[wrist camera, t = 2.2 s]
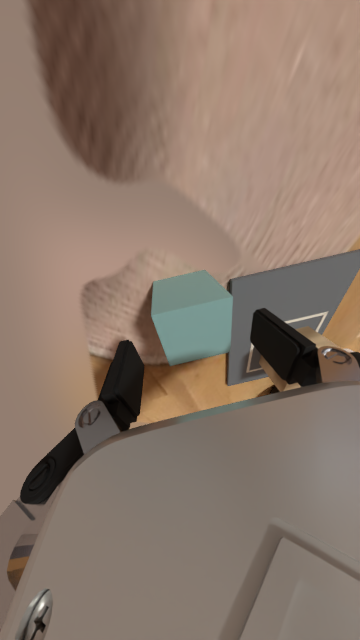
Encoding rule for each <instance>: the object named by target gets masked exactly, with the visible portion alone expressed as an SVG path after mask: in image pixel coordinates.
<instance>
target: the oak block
mask: <svg viewBox="0 0 360 640" xmlns="http://www.w3.org/2000/svg"><path fill="white" fill-rule="evenodd" d="M295 330H297V331H298V332H299V333H301V334H302V335H304V336H305V337H306V338H308V339H309V340H311V341H312V342H313V343H315V344H316V346H315V347H317V348H318V349H319V348H320V347H323V346H332V347H337V348H340V347H339V346H337V345H336V344H334V343H333V342H331V341H330V340H328V339H327V338H325V337H324V336H322V335H321V334H319V333H318V332H316V331H315V330H313V329H312V328H310V327H309V326H307V327H302V328H298V329H295ZM340 349H342V348H340ZM259 364H260V365H261V367H262V368H263V369H264V371H265V372H266V374H267V375H268V376H269V378H270V379H271V380H272V382H273V383H274V384H275V386H276V387H277V389H278V390H279V391H280V392H282V391H287V390H291V389H295V388H300V385H299V384H298V383H294V384H290V385H289V384H288V383H287V382H286V381H285V380H282V379H281V378H280V377H279V375H278V374H277V373H276V372H275V371H274V369H273V368H272V367H271V366H270V365H269V363H268V362H267V361H266V360H265V359H264V357H263V356H262V355H261V357H260V361H259Z"/></svg>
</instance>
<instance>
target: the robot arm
mask: <svg viewBox="0 0 360 640" xmlns="http://www.w3.org/2000/svg"><path fill="white" fill-rule="evenodd" d="M250 341H251V343H252V344H253V346H254V347H255V348H256V349H257V350H258V351H259V353H260V354H261V355H262V356H263V357H264V359H265V360H266V361H267V362H268V363H269V365H270V366H271V367H272V368H273V369H274V371H275V372H276V373H277V374H278V375H279V377H280V378H281V379H282V380H285V381H286V382H287V383H288V384H289V385H290V384H294V383H298V384H299V385H300V388H295V389H291V390H287V391H282V392H278V393H274V394H270V395H265V396H261V397H257V398H252V399H248V400H244V401H240V402H236V403H232V404H227V405H223V406H219V407H215V408H211V409H207V410H203V411H199V412H194V413H190V414H186V415H182V416H178V417H174V418H170V419H166V420H162V421H158V422H154V423H151V424H147V425H144V426H139V427H136V428H132V429H129V427H130V423H132V422H136V421H137V416H138V415H139V414H140V406H141V396H142V386H143V376H144V364H143V362H142V360H141V358H140V356H139V354H138V352H137V351H136V349H135V347H134V345H133V343H132V341H129V340H125V341H121V342H120V343H119V345H118V348H117V351H116V354H115V357H114V360H113V362H112V363H111V365H110V367H109V370H108V373H107V376H106V379H105V381H104V384H103V387H102V390H101V393H100V395H99V398H98V400H97V401H93V402H91V403H89V404H88V405H86V406H85V407H84V408H83V409H82V410H81V412H80V413H79V414H78V416H77V418H76V422H75V428H74V429H73V430H72V431H71V432H70V433H69V434H68V435H67V436H66V437H65V438H64V439H63V440H62V441H61V442H60V443H58V444H57V445H56V447H54V448H53V449H52V450H51V451H50V452H49V453H48V454H47V455H46V456H45V457H44V458H43V459H42V460H41V461H40V462H39V463H38V464H37V465H36V466H35V467H34V468H33V469H32V471H31V472H30V473H29V475H28V476H27V478H26V480H25V482H24V484H23V487H22V490H21V495H20V497H19V498H18V499H17V501H15V500H13V501H12V502H11V503H10V505H9V506H8V507H7V509H6V510H5V511H4V512H3V514H2V515H1V516H0V640H360V362H357V360H356V359H355V357H354V356H353V355H351V354H350V353H349V352H347V351H345V350H343V349H340V348H337V347H332V346H323V347H320V348H319V349H318V348H317V347H315V346H316V344H315V343H313V342H312V341H311V340H309V339H308V338H306V337H305V336H304V335H302V334H301V333H299V332H298V331H297V330H295V329H294V328H292V327H291V326H290V325H288V324H287V323H285V322H284V321H283V320H281V319H280V318H278V317H277V316H276V315H274V314H273V313H272V312H270V311H269V310H267V309H266V308H261V309H257V310H256V311H255V312H254V313H253V319H252V327H251V335H250Z"/></svg>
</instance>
